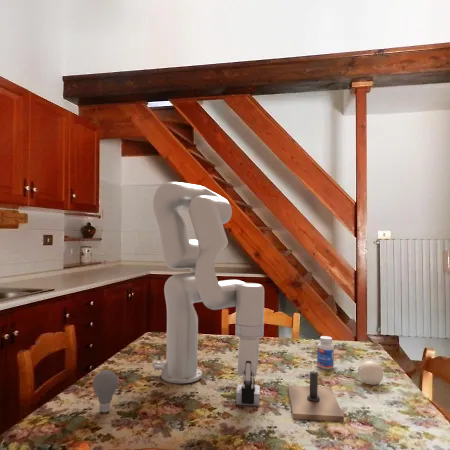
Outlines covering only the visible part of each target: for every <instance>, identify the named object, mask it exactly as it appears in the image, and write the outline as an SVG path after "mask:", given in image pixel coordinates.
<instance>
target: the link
mask: <svg viewBox="0 0 450 450" xmlns="http://www.w3.org/2000/svg"><path fill="white" fill-rule="evenodd" d="M236 386H237V387H236V394H235V396H236V397H235V398H236V399H235V404H236V405H239V406H241V405H242V406H253V407H255V406H256V407H257V406H258V407H260V398H261V396H260V393H261V392H260V389H261V388H260V386H261V384H260V385H258V384H255V385H253V388H254V404H243V403H242V387H243V383H242V384H239V383H237V385H236Z"/></svg>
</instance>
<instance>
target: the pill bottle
mask: <svg viewBox="0 0 450 450" xmlns="http://www.w3.org/2000/svg"><path fill="white" fill-rule="evenodd" d="M316 349H317V351H316V352H317V356H316V358H317V359H316V366H317V367H318V368H321V369H326V370H327V369H328V370H331V369H332V368H334V361H335V359H334V358H335V357H334V356H335V346H334V344H333V337H331V336H328V335H326V336H325V335H321V336H320V337H319V343H317V348H316Z"/></svg>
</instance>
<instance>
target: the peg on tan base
mask: <svg viewBox="0 0 450 450" xmlns="http://www.w3.org/2000/svg"><path fill="white" fill-rule="evenodd" d="M318 376H319V374H318V372H317V371H315V370H314V371H309V386H308V385H287V392H288V398H289V402H290V403H289V404H290V408H291V413H292V414H291V415H292V419H295V420H312V421H327V422H328V421H330V422H345V416H344V413H343V411H342V409H341V407H340V405H339V402H338V400H337V399H336V396H335V394H334V391H333V389H332V387H328V386H327V387H325V386H324V387H323V386H319V385H318V380H319V377H318Z"/></svg>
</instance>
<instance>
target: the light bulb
mask: <svg viewBox="0 0 450 450" xmlns="http://www.w3.org/2000/svg"><path fill="white" fill-rule="evenodd" d="M118 384H119V378H118V376H117V374H116V373H115V372H114V371H112V370H110V369H103V370H101V371H100V372H98V373H96V375H95V376H94V378H93V381H92V388H93V391H94V392H95V394H96V396H97V400H98V403H99V412H101V413H107V412H109V411H111V404H112V403H111V401H113V395H114V393H115V392H116V389H117V388H118Z"/></svg>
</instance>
